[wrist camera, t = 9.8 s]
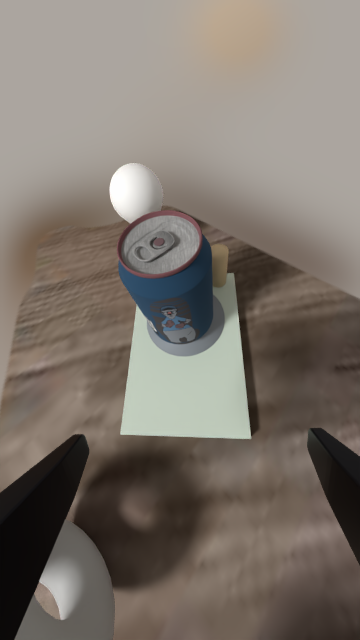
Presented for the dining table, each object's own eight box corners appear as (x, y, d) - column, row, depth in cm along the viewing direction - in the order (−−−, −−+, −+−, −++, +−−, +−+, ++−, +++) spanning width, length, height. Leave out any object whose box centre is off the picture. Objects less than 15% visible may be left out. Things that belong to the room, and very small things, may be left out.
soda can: (188, 284, 27) (171, 190, 16) (226, 322, 24) (235, 240, 13) (142, 316, 26) (91, 239, 15) (175, 361, 23) (141, 305, 12)
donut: (144, 590, 17) (64, 778, 8) (113, 642, 16) (-18, 921, 7) (67, 488, 20) (-47, 536, 12) (38, 525, 19) (-110, 608, 11)
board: (249, 438, 20) (262, 442, 15) (125, 434, 22) (94, 436, 16) (233, 278, 28) (237, 242, 22) (142, 284, 30) (126, 252, 24)
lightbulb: (167, 225, 34) (148, 144, 24) (179, 253, 31) (162, 173, 21) (130, 238, 34) (96, 162, 24) (138, 266, 31) (103, 193, 21)
